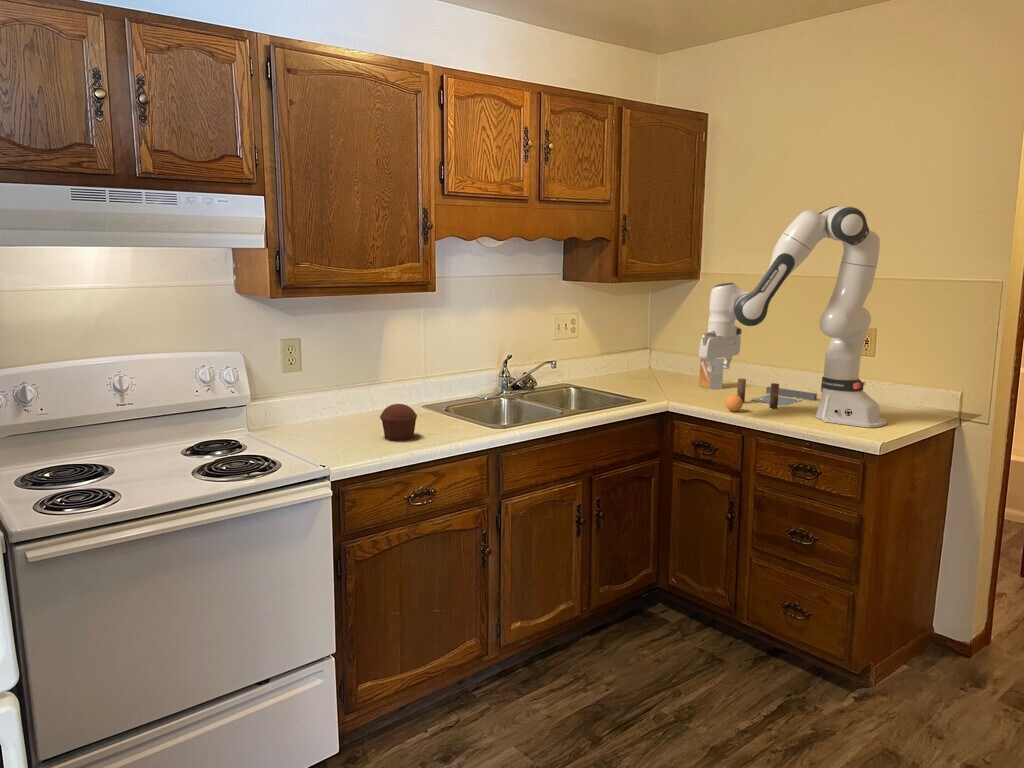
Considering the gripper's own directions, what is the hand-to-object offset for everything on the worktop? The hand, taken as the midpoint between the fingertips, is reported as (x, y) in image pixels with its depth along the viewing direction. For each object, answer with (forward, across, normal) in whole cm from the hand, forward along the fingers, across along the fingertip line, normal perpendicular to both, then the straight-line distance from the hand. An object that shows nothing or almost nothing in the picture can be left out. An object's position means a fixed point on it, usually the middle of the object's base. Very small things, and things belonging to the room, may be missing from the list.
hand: (718, 370), depth 269 cm
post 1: (+16, +26, +6) cm, 30 cm away
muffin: (+17, -102, +45) cm, 113 cm away
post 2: (+16, +26, -8) cm, 31 cm away
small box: (+16, +44, +31) cm, 56 cm away
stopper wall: (+15, +52, -1) cm, 54 cm away
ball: (+13, +10, -1) cm, 16 cm away
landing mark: (+16, +40, -1) cm, 42 cm away
